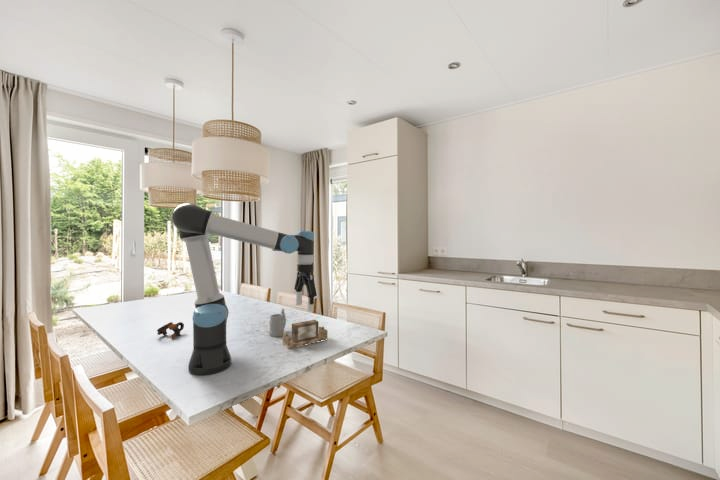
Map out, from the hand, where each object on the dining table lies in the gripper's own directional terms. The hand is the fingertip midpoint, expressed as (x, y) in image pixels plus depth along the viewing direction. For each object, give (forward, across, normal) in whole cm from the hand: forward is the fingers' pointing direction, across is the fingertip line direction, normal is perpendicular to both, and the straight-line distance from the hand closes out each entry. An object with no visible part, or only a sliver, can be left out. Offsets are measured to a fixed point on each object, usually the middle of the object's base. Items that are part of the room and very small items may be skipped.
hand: (304, 307), depth 147 cm
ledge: (+17, 0, -1) cm, 17 cm away
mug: (+17, +20, +5) cm, 27 cm away
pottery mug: (+18, +45, +52) cm, 71 cm away
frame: (+15, 0, -1) cm, 15 cm away
